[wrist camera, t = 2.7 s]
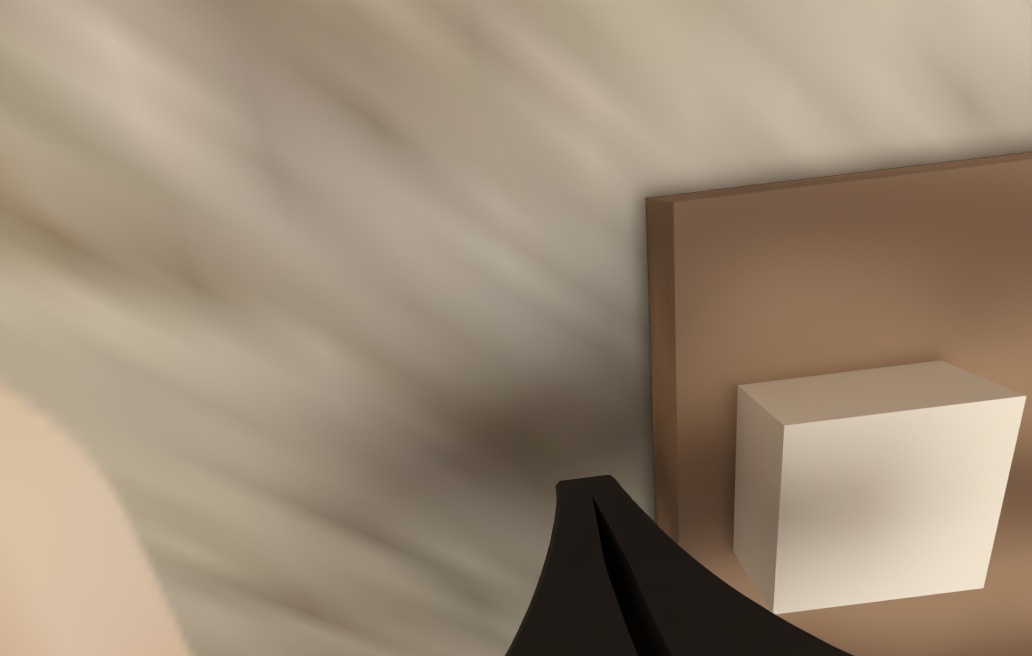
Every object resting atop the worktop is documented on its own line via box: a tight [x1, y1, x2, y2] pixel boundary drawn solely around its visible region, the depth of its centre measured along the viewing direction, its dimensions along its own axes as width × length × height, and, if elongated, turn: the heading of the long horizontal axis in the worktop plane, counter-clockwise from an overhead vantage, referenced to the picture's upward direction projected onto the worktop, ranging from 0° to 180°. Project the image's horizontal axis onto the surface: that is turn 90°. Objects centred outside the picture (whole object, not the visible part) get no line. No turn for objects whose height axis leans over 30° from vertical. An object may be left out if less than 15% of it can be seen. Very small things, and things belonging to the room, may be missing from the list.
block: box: [733, 360, 1026, 614], centre depth 12 cm, size 5×5×2 cm
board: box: [646, 152, 1032, 656], centre depth 14 cm, size 18×12×2 cm, turn 6°
